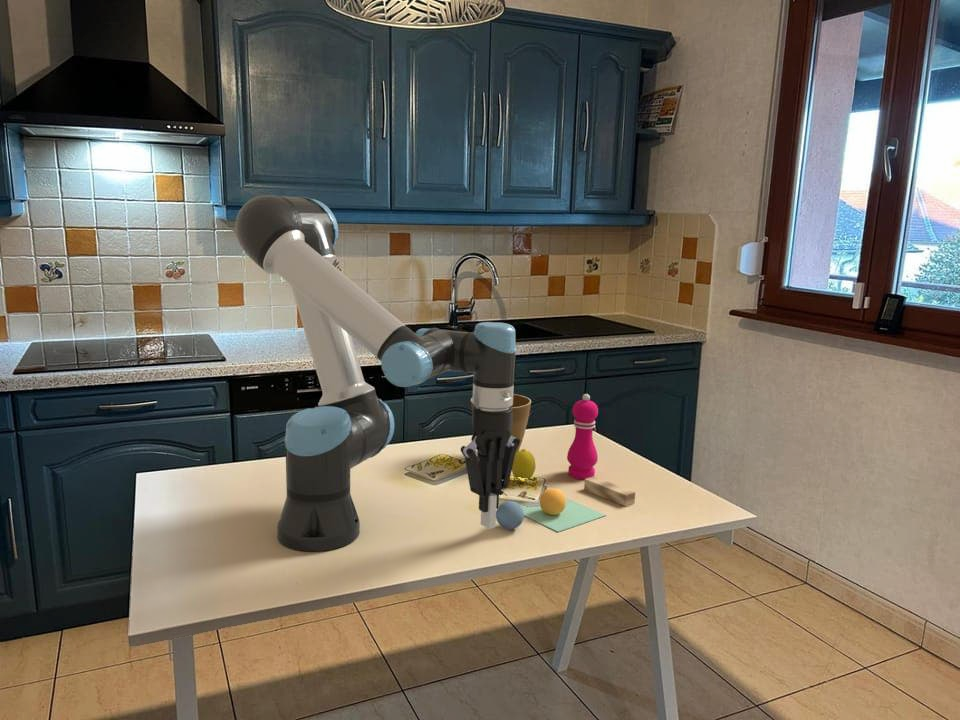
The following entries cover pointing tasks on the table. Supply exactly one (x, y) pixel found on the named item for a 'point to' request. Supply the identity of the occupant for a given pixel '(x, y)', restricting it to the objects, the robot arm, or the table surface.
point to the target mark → (563, 516)
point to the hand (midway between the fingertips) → (488, 525)
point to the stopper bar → (609, 491)
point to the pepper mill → (583, 440)
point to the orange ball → (552, 501)
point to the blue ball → (509, 515)
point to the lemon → (523, 464)
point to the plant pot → (518, 416)
